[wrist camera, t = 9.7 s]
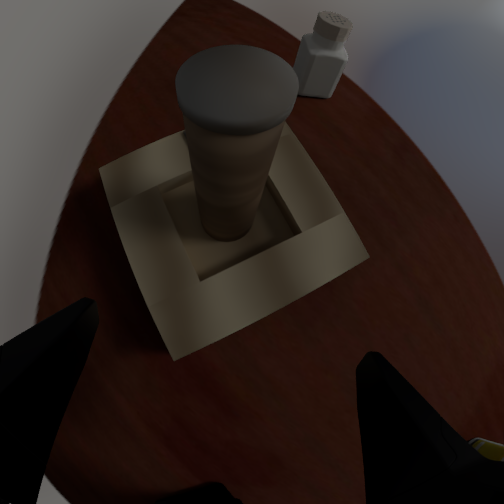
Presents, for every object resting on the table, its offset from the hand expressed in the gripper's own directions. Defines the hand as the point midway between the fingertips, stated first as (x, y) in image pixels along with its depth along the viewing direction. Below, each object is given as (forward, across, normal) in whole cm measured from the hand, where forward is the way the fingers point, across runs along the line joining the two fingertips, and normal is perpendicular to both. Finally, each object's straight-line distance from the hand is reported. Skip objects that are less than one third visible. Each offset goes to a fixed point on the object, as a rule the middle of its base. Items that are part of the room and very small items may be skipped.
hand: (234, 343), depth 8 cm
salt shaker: (+26, -4, -10) cm, 28 cm away
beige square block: (+14, +1, +3) cm, 14 cm away
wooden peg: (+12, +1, +1) cm, 12 cm away
